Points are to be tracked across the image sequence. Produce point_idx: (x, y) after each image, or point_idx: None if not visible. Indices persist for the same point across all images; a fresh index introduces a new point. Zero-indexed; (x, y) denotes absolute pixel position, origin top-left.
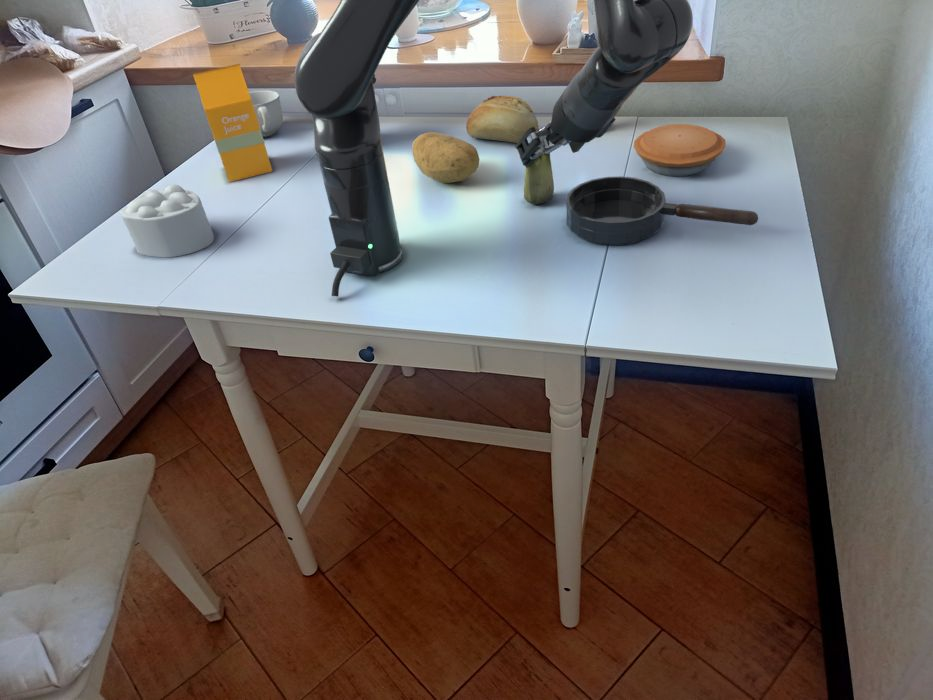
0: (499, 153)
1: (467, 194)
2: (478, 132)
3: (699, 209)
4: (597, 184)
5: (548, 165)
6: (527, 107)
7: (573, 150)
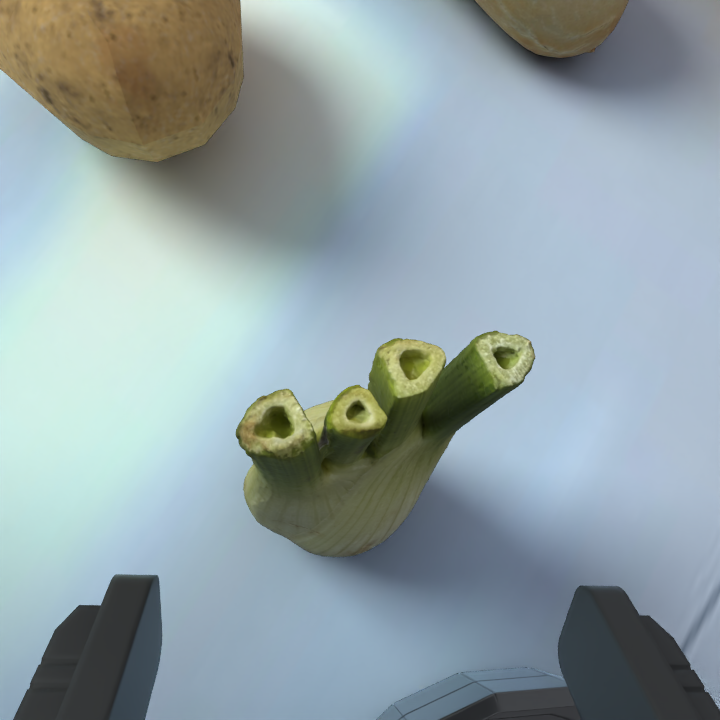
0: (418, 48)
1: (119, 233)
2: None
3: None
4: None
5: (418, 469)
6: None
7: (568, 662)
